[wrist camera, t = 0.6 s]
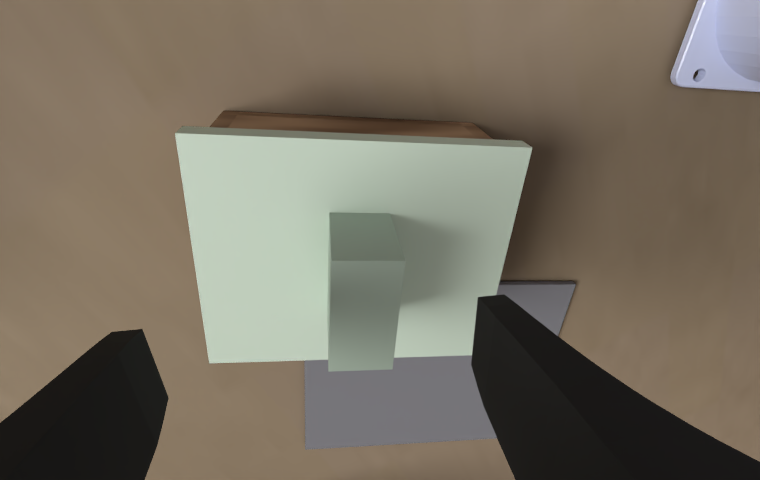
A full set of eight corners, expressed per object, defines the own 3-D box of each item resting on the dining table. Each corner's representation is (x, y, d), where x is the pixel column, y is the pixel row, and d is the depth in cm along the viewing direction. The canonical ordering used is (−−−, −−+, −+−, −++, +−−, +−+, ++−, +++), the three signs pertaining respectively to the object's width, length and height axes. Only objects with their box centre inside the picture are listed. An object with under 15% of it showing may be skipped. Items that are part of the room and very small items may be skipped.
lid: (515, 135, 15) (581, 182, 11) (471, 332, 19) (508, 414, 15) (188, 121, 14) (136, 168, 10) (217, 338, 18) (188, 431, 14)
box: (472, 122, 18) (508, 151, 15) (444, 281, 22) (467, 334, 18) (223, 110, 17) (198, 139, 13) (239, 282, 21) (223, 340, 17)
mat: (573, 281, 23) (575, 284, 23) (520, 432, 29) (522, 436, 28) (303, 282, 21) (303, 286, 21) (305, 445, 27) (305, 449, 26)
